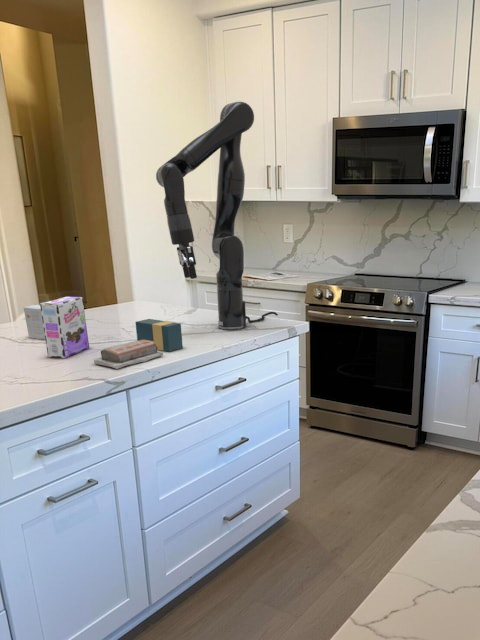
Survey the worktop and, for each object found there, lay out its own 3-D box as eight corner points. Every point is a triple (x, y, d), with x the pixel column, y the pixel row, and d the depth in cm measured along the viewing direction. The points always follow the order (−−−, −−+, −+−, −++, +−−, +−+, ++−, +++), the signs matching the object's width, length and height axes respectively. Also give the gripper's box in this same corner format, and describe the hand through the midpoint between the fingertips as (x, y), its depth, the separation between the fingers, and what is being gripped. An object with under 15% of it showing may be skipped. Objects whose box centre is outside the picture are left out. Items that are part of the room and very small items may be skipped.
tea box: (137, 346, 198) (135, 321, 195) (151, 342, 203) (149, 318, 200) (169, 352, 191) (167, 326, 188) (182, 348, 196) (180, 323, 193)
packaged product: (139, 336, 189) (162, 341, 184) (140, 352, 191) (163, 356, 186) (91, 348, 175) (114, 353, 170) (93, 364, 177) (116, 369, 172)
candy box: (64, 358, 182) (56, 303, 176) (47, 357, 183) (38, 302, 177) (90, 348, 195) (83, 296, 189) (73, 347, 196) (66, 295, 190)
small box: (58, 336, 209) (53, 306, 205) (45, 340, 205) (40, 308, 201) (41, 334, 212) (36, 304, 208) (28, 337, 208) (23, 306, 204)
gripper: (196, 226, 198) (206, 276, 204) (186, 227, 210) (196, 275, 216) (173, 229, 195) (184, 280, 201) (165, 230, 208) (175, 278, 213)
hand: (190, 277), depth 209 cm, fingers open, 8 cm apart
